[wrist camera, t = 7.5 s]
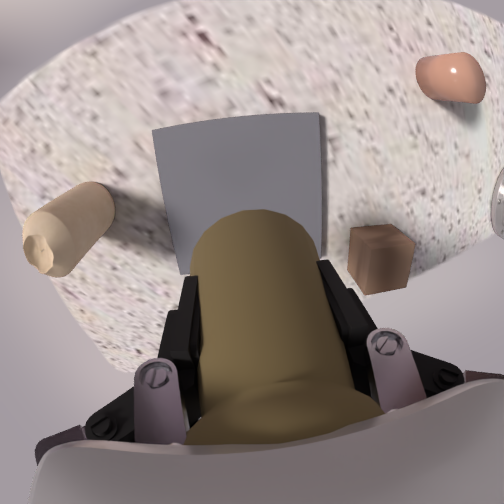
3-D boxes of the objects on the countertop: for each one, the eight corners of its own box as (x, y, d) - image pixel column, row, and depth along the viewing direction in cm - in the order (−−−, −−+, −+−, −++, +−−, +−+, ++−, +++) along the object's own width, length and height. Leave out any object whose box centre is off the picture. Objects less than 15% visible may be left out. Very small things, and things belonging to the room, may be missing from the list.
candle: (116, 182, 23) (62, 221, 14) (116, 236, 26) (73, 293, 17) (69, 179, 22) (6, 215, 13) (71, 230, 25) (20, 281, 16)
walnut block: (390, 223, 27) (415, 243, 23) (385, 263, 30) (406, 287, 25) (350, 227, 27) (371, 249, 23) (347, 269, 30) (364, 295, 25)
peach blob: (446, 62, 19) (483, 60, 13) (449, 103, 21) (487, 107, 16) (413, 52, 19) (450, 46, 13) (417, 96, 21) (455, 97, 16)
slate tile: (315, 112, 22) (318, 112, 21) (318, 253, 28) (320, 258, 27) (154, 129, 21) (151, 130, 20) (181, 269, 28) (180, 274, 27)
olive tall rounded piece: (321, 306, 14) (399, 508, 5) (209, 329, 14) (209, 543, 5) (312, 196, 12) (499, 445, 2) (172, 225, 12) (83, 517, 2)
